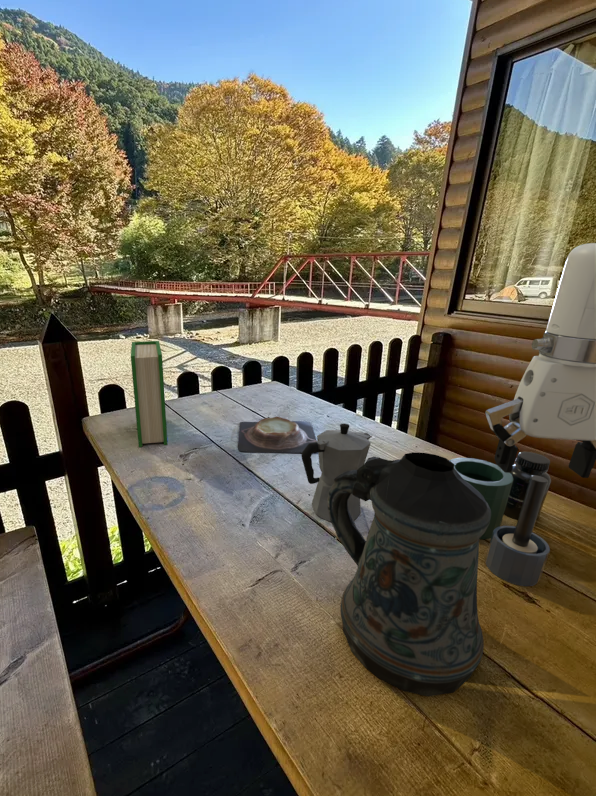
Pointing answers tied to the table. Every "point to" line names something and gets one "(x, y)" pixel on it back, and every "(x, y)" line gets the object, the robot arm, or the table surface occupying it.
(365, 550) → the beer stein
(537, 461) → the supplement bottle
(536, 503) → the brush
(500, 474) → the jar
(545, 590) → the table surface
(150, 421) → the hardback book
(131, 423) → the table surface
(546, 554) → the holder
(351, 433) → the coffeepot
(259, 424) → the quiche
